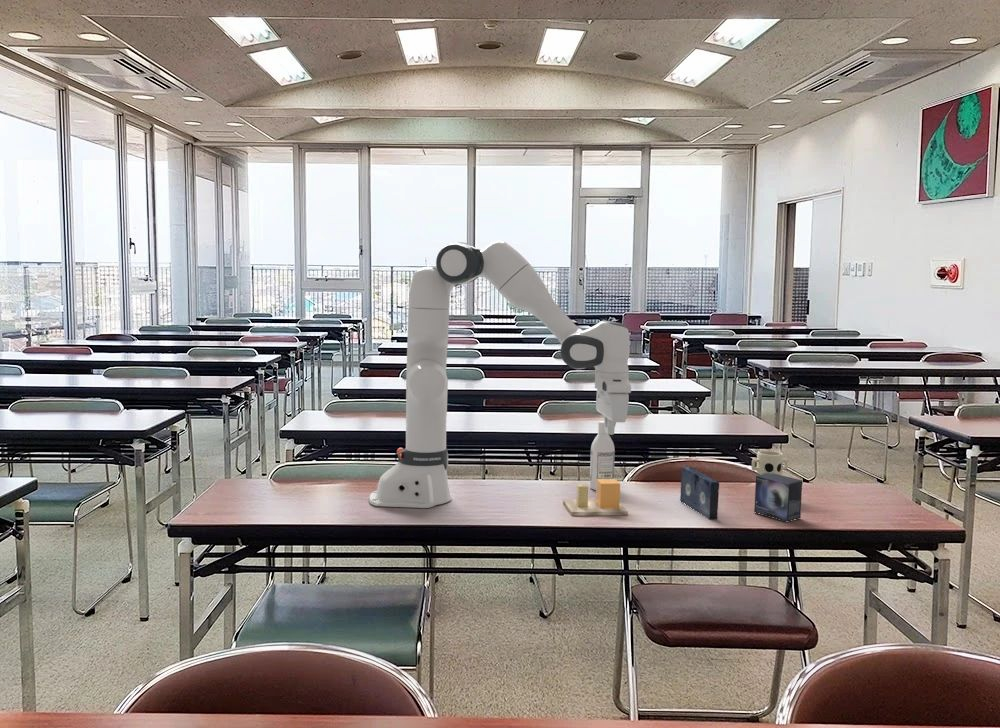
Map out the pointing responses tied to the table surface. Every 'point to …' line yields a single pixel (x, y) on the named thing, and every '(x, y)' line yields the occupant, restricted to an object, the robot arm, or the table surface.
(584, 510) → the birch board
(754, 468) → the character mug
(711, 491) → the vhs cassette tape
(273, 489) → the table surface
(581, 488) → the brass post
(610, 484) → the tall orange prism
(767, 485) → the small box
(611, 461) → the bath foam
